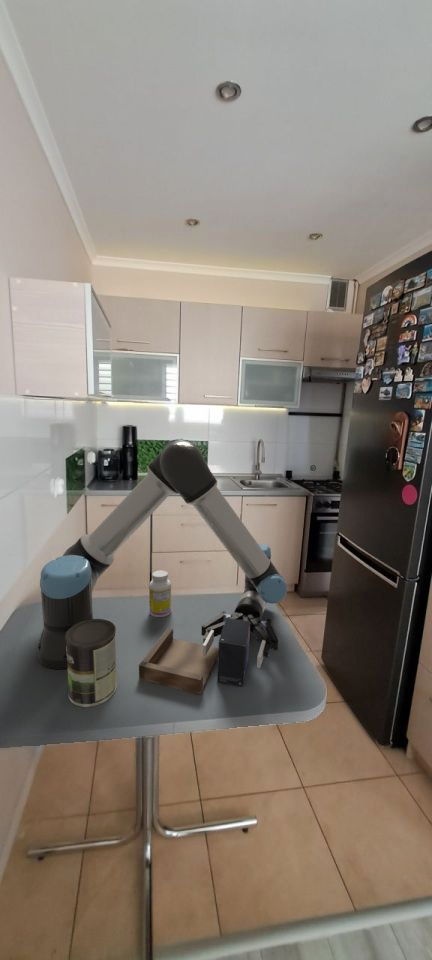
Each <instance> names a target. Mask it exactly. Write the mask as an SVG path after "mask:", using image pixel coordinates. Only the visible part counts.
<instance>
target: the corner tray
mask: <svg viewBox="0 0 432 960" xmlns="http://www.w3.org/2000/svg"><path fill="white" fill-rule="evenodd" d="M202 653H203V644H201V643H196V642H191V641H186V640H181V639H176V638H174V628H172V627H167V628H166V630H165V631H164V632H163V633H162V635H161V636H160V637H159V638H158V640H157V641H156V642H155V644H154V645H153V646H152V648H151V649H150V650H149V652H148V653H147V654H146V656H145V657H143V659H142V661H141V662H140V663H139V664H138V679H139V680H141V681H145V682H148V683H152V684H157V685H160V686H164V687H169V688H173V689H177V690H180V691H185V692H188V693H193V694H195V695H199V696H200V695H202V692H203V690H204V689H205V685H206V684H207V682H208V680H209V677H210V675H211V673H212V671H213V670H214V669H213V668H214V667H215V664H216V663H217V661H218V647H215V646H211V647H210V649H209V650H208V652H207V654H206V656H202Z"/></svg>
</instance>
